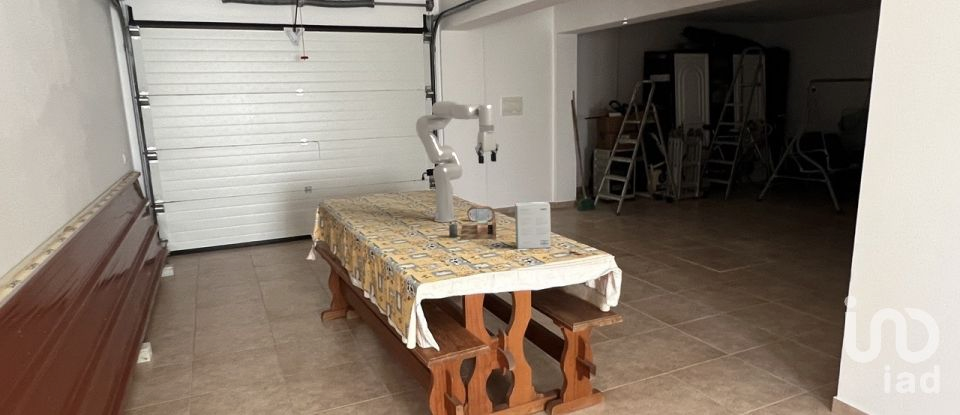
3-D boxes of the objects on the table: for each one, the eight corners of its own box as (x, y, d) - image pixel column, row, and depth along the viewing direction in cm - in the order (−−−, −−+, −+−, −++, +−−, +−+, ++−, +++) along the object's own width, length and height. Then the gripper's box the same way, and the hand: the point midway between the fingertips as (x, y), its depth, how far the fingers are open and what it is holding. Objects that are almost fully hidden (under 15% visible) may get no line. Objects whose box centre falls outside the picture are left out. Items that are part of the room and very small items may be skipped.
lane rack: (460, 239, 285) (459, 223, 283) (461, 228, 307) (461, 214, 306) (496, 238, 284) (495, 222, 283) (495, 228, 307) (494, 213, 305)
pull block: (449, 238, 288) (448, 226, 287) (449, 235, 293) (449, 224, 292) (487, 237, 288) (487, 225, 287) (487, 234, 293) (487, 223, 292)
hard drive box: (548, 243, 273) (548, 201, 269) (551, 248, 265) (551, 204, 261) (515, 244, 272) (514, 202, 268) (516, 249, 265) (516, 205, 261)
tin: (494, 220, 326) (494, 205, 324) (494, 221, 322) (494, 206, 321) (467, 220, 327) (467, 206, 325) (467, 222, 324) (466, 207, 322)
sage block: (477, 232, 299) (477, 222, 298) (478, 230, 304) (477, 220, 303) (487, 232, 299) (487, 222, 298) (487, 230, 304) (487, 220, 303)
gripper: (491, 127, 307) (492, 160, 310) (469, 129, 295) (470, 163, 298) (502, 128, 302) (503, 161, 306) (480, 130, 290) (481, 164, 293)
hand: (487, 162), depth 302 cm, fingers open, 9 cm apart
